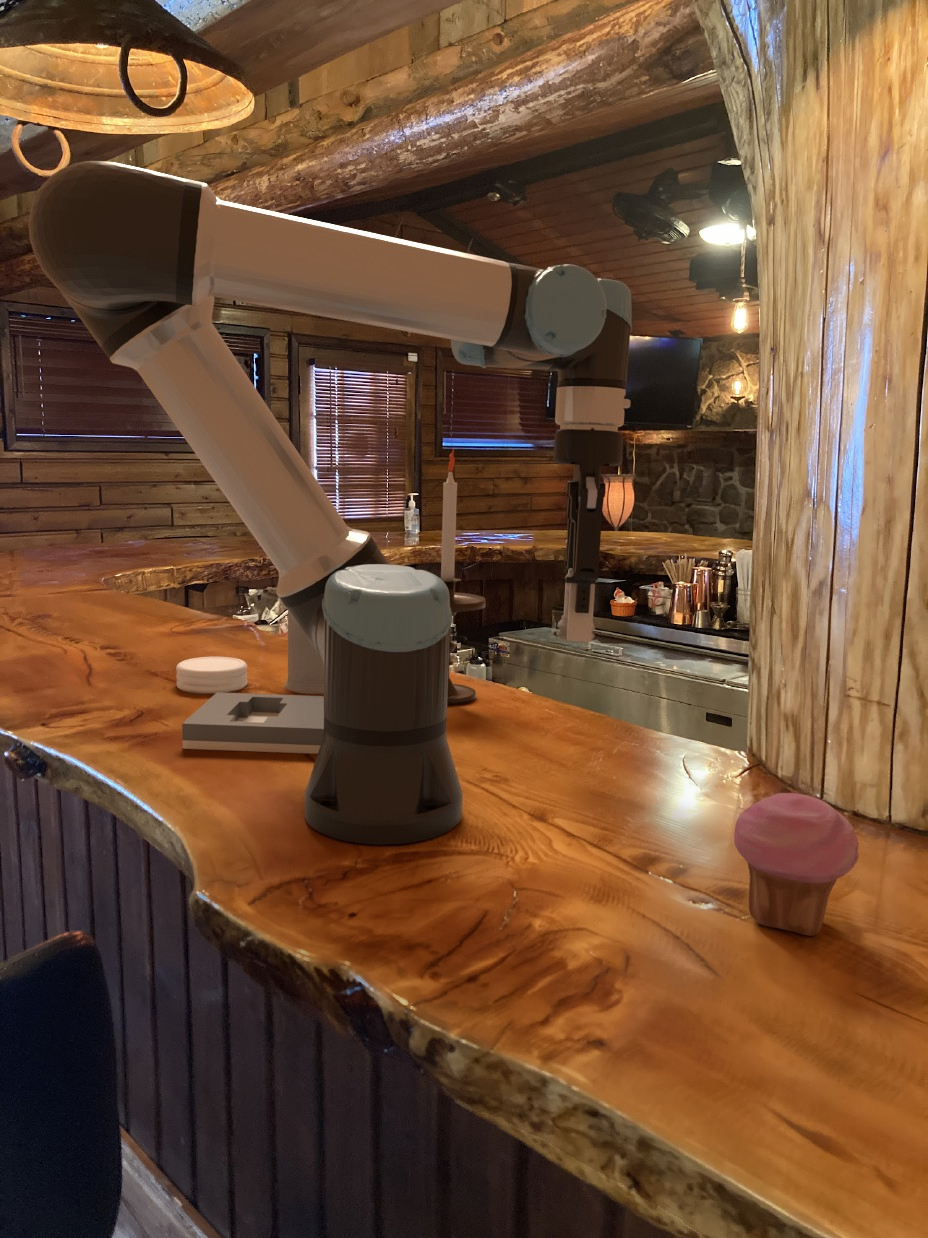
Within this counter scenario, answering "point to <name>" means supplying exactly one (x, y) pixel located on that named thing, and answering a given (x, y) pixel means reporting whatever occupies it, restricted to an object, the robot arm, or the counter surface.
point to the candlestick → (457, 600)
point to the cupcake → (794, 859)
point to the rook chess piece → (564, 621)
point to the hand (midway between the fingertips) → (576, 635)
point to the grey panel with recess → (257, 723)
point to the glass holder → (303, 662)
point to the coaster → (211, 675)
